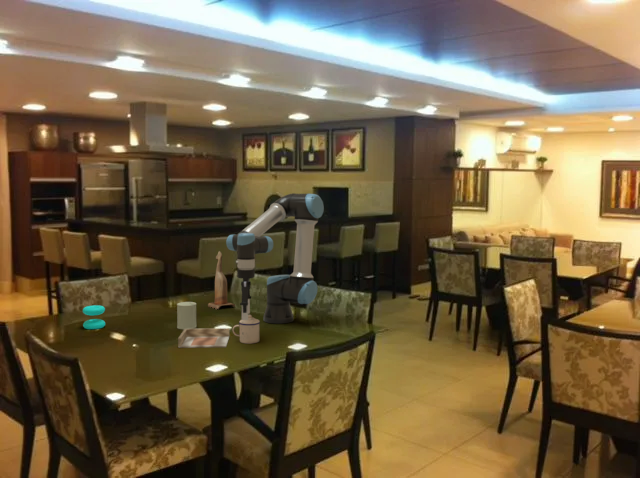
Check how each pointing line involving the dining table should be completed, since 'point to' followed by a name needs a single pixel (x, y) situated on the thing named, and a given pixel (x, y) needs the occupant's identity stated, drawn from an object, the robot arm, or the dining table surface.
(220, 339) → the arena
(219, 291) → the bird sculpture
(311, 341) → the dining table surface
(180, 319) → the can
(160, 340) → the dining table surface
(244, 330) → the teacup with lid
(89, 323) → the donuts
